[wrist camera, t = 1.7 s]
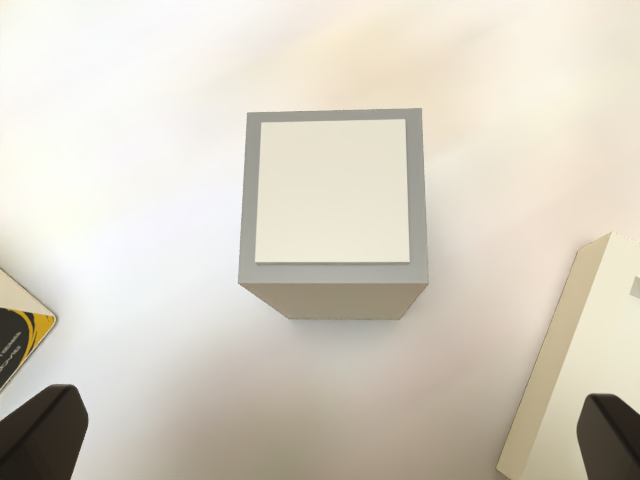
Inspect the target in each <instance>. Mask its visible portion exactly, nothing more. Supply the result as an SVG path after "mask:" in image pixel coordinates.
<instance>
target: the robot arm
mask: <svg viewBox="0 0 640 480" xmlns="http://www.w3.org/2000/svg"><path fill="white" fill-rule="evenodd" d="M87 427H88V413H87V411H86V408H85V406H84V403H83V401H82V399H81V396H80V394H79V391H78V389H77V388H76V387H75V386H74V385H71V384H53V385H50V386H48V387H47V388H45V389H44V390H42V391H41V392H40V393H38V394H37V395H35V396H34V397H33V398H31V399H30V400H29V401H27V402H26V403H24V404H23V405H22V406H20V407H19V408H18V409H16V410H15V411H13V412H12V413H11V414H9V415H8V416H7V417H5V418H4V419H3V420H1V421H0V480H70V479H71V476H72V473H73V470H74V467H75V464H76V461H77V458H78V455H79V452H80V449H81V446H82V443H83V440H84V437H85V434H86V431H87ZM576 434H577V440H578V444H579V447H580V451H581V455H582V459H583V462H584V466H585V470H586V473H587V477H588V480H640V414H639V413H638V412H636V411H635V410H634V409H633V408H632V407H630V406H629V405H628V404H627V403H626V402H624V401H623V400H622V399H621V398H619V397H618V396H616V395H614V394H610V393H591V394H589V395H587V396H586V398H585V401H584V404H583V407H582V410H581V413H580V416H579V419H578V422H577V427H576Z"/></svg>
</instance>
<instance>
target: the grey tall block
mask: <svg viewBox="0 0 640 480" xmlns="http://www.w3.org/2000/svg"><path fill="white" fill-rule="evenodd" d="M238 284H240V285H241V286H243V287H244V288H245V289H247V290H248V291H250V292H251V293H253V294H254V295H255V296H257V297H258V298H260V299H261V300H263V301H264V302H265V303H267V304H268V305H270V306H271V307H272V308H274V309H275V310H277V311H278V312H280V313H281V314H282V315H284V316H285V317H287V318H288V319H365V320H399V319H400V318H401V317H402V316H403V314H404V313H405V312H406V311H407V309H408V308H409V307H410V306H411V305H412V303H413V302H414V301H415V300H416V298H417V297H418V296H419V295H420V293H421V292H422V291H423V290H424V288H425V287H426V286H427V285H428V284H429V281H428V256H427V231H426V206H425V181H424V156H423V130H422V108H412V109H372V110H333V111H293V112H253V113H247V126H246V144H245V163H244V181H243V200H242V218H241V237H240V255H239V274H238Z"/></svg>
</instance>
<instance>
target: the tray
mask: <svg viewBox="0 0 640 480" xmlns="http://www.w3.org/2000/svg"><path fill="white" fill-rule="evenodd" d="M591 393H610V394H614V395H616V396H618V397H619V398H621V399H622V400H623V401H624V402H626V403H627V404H628V405H629V406H630V407H632V408H633V409H634V410H635V411H636V412H638V413H639V414H640V243H639V242H636V241H634V240H632V239H629V238H627V237H624V236H622V235H619V234H617V233H614V232H610V233H609V234H607V235H605V236H603V237H601V238H599V239H598V240H596V241H594V242H592V243H590V244H588V245H586V246H585V247H583V248H581V249H579V250H578V253H577V256H576V258H575V261H574V264H573V266H572V269H571V271H570V274H569V277H568V279H567V282H566V285H565V287H564V290H563V292H562V295H561V298H560V300H559V303H558V306H557V308H556V311H555V314H554V316H553V319H552V321H551V324H550V327H549V329H548V332H547V335H546V337H545V340H544V342H543V345H542V348H541V350H540V353H539V356H538V358H537V361H536V363H535V366H534V369H533V371H532V374H531V377H530V379H529V382H528V385H527V387H526V390H525V392H524V395H523V398H522V400H521V403H520V406H519V408H518V411H517V413H516V416H515V419H514V421H513V424H512V427H511V429H510V432H509V435H508V437H507V440H506V442H505V445H504V448H503V450H502V453H501V456H500V458H499V461H498V463H497V466H496V469H497V470H499V471H500V472H501V473H503V474H504V475H505V476H507V477H508V478H509V479H511V480H588V477H587V473H586V470H585V466H584V462H583V459H582V455H581V451H580V447H579V444H578V440H577V434H576V427H577V422H578V419H579V416H580V413H581V410H582V407H583V404H584V401H585V398H586V396H587V395H589V394H591Z"/></svg>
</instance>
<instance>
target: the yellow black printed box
mask: <svg viewBox="0 0 640 480" xmlns="http://www.w3.org/2000/svg"><path fill="white" fill-rule="evenodd" d="M55 322H56V317H55V315H54V314H53V313H52V312H50V311H49V310H48V309H47V308H46V307H44V306H43V305H42V304H41V303H40V302H39V301H37V300H36V299H35V298H34V297H33V296H31V295H30V294H29V293H28V292H27V291H26V290H24V289H23V288H22V287H21V286H20V285H18V284H17V283H16V282H15V281H14V280H13V279H11V278H10V277H9V276H8V275H7V274H5V273H4V272H3V271H2V270H1V269H0V390H1V389H2V388H3V387H4V386H5V384H6V383H7V382H8V381H9V379H10V378H11V377H12V376H13V375H14V373H15V372H16V371H17V370H18V368H19V367H20V366H21V365H22V364H23V362H24V361H25V360H26V359H27V358H28V356H29V355H30V354H31V353H32V351H33V350H34V349H35V348H36V347H37V345H38V344H39V343H40V342H41V340H42V339H43V338H44V337H45V336H46V334H47V333H48V332H49V331H50V329H51V328H52V327H53V326H54V324H55Z"/></svg>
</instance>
